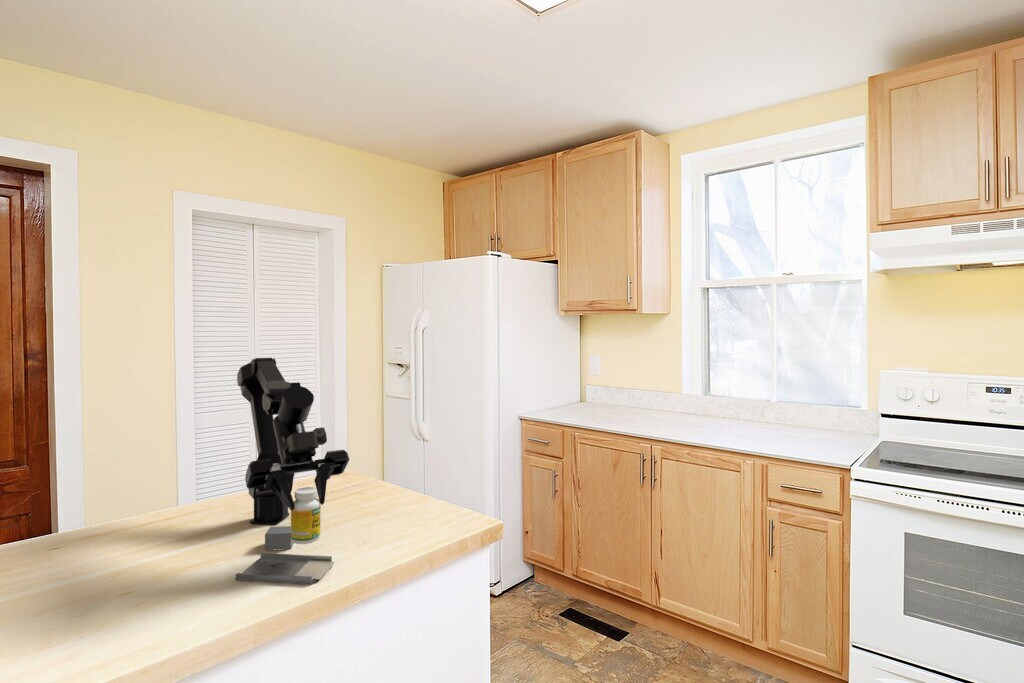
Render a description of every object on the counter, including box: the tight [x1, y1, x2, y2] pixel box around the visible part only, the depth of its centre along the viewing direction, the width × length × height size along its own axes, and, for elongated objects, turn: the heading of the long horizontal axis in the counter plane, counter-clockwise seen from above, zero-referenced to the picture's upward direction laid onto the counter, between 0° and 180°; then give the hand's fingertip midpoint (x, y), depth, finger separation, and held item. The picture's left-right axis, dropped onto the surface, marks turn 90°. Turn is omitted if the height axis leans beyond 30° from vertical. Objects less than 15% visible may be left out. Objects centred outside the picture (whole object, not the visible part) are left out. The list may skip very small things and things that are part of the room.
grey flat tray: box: [235, 552, 336, 585], centre depth 104 cm, size 15×9×1 cm, turn 86°
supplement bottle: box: [290, 486, 322, 545], centre depth 107 cm, size 5×5×10 cm
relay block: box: [264, 525, 295, 551], centre depth 115 cm, size 5×4×4 cm
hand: (308, 506), depth 106 cm, fingers closed on supplement bottle, 5 cm apart
